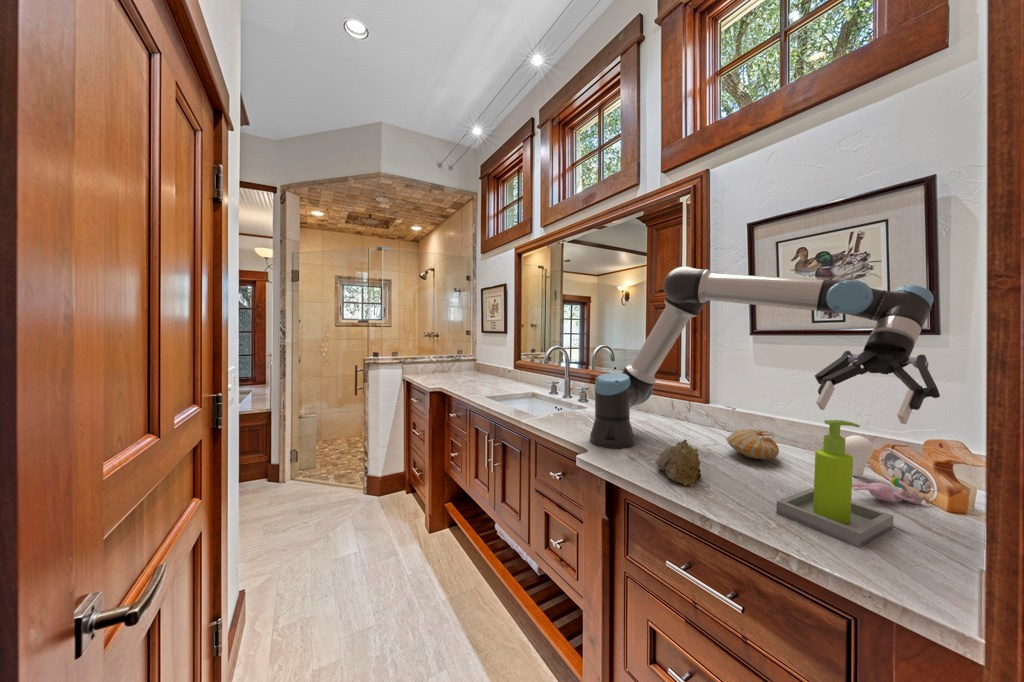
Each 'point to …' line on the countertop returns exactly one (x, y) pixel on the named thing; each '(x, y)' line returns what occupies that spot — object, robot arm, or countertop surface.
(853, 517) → the holder tray
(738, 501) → the countertop surface
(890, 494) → the rabbit figure
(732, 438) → the nautilus
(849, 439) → the lightbulb
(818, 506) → the soap dispenser
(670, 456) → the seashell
